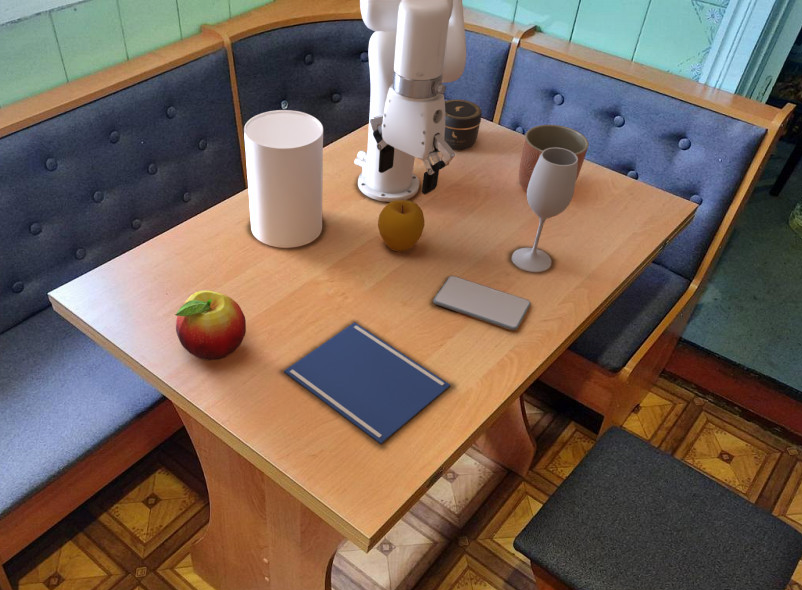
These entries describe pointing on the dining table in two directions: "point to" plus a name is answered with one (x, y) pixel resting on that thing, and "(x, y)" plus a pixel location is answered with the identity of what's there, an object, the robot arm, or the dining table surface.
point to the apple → (401, 224)
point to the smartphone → (482, 302)
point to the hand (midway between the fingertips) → (406, 180)
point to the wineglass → (547, 200)
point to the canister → (285, 177)
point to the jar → (461, 124)
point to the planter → (549, 138)
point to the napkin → (367, 381)
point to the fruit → (210, 325)
